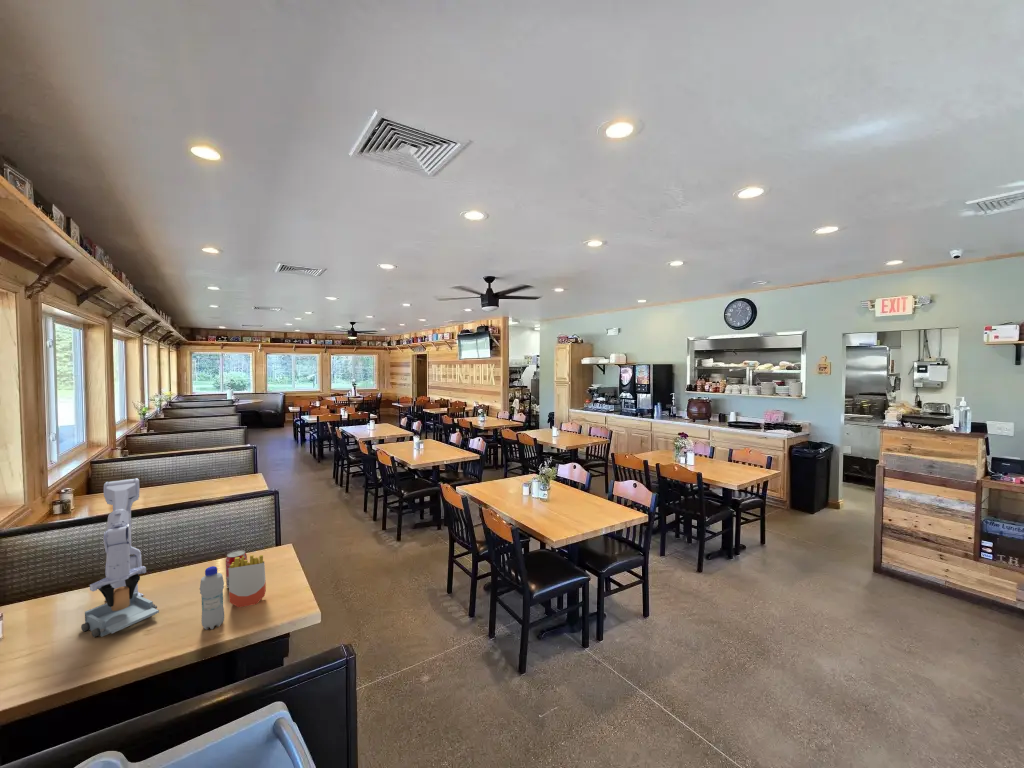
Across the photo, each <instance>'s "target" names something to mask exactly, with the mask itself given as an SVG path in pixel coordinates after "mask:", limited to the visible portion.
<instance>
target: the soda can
mask: <svg viewBox="0 0 1024 768" xmlns="http://www.w3.org/2000/svg"><path fill="white" fill-rule="evenodd" d="M235 557H240V559H242V557H244V560H247V561H248V557H247V553H246V551H245V550H243V549H239V550H238V549H237V550H234V551H231V552H228V553H227V554H226V558H225V579H226V581H225V582H226V588H228V589H229V567H230V565H231V564H232V562H234V564H235ZM239 562H240V560H239Z"/></svg>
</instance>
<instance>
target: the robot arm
mask: <svg viewBox="0 0 1024 768" xmlns="http://www.w3.org/2000/svg"><path fill="white" fill-rule="evenodd" d="M103 497H104V499H105V500H104V501H105V502H106V504H107V505H111V506H112V512H110V513H109V514H108V515H107V516H108V517H107V522H106V530H105V531H104V532H103V545H104V549H105V550H104V551H105V553H106V560H105V561H106V562H105V577H104V578H101V579H100V580H98V581H95V582H93V583H91V584H89V591H90V592H96V591H97V590H98V591H99V592H100V593H101V594H102V596H103V597H104V601H106V603H107V605H108V606H110V607H112V606H113V604H114V602H113V592H114V589H116V588H119V587H123V586H128V587H129V599H132V597H133V593H134V592H138V595H139V596H141V597H143V596H144V593H141V592H140V591H139V581H140V579H141V576H139V575H141V574H145V573H147V567H146V566H145V565H143V561H142V551H141V550H140V549H139V548H136V547H134V546H132V506H133V503H134V502H136V501H138V500H139V497H140V479H139V478H138V477H135V478H130V479H121V480H112V481H106V482H105V483H104V484H103Z"/></svg>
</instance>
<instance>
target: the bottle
mask: <svg viewBox="0 0 1024 768" xmlns="http://www.w3.org/2000/svg"><path fill="white" fill-rule="evenodd" d="M204 570H205V571H204V574H205V575H204V576H202V577H201V579H200V585H199V594H200V595H201V626H202V628H203V629H204V630H209V628H210V630H213V629H214V628H215V626H216V627H217V628H218V627H220V626H221V625H222V624H223V623H224V622H225V608H224V588H225V586H224V585H225V581H224V577H223V576H224V574H222V573H221V572H218V567H217V566H215V565H214V566H212V565H211V566H209V567H207V568H206V569H204Z"/></svg>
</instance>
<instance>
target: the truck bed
mask: <svg viewBox="0 0 1024 768" xmlns="http://www.w3.org/2000/svg"><path fill="white" fill-rule="evenodd" d="M138 592H139V591H138ZM138 592H134V593H133V597H132V599H130V605H129V606H128V607H127V608H125V609H122V610H118V611H112V610H111V607H110V606H108V605H107V602H106V603H103V604H100V605H98V606H95V607H93V608H90V609H88V610H85V611H84V623H82V624H81V627H80V629H81V631H82V632H83V633H84V632H86V631H90V632H91V636H92V637H93V638H97V637H99V636H100V637H104V636H107V635H110V634H111V633H110V632H108V631H106V627H108V626H111V625H113V624H115V623H118V622H120V621H122V620H125V619H127V618H129V617H132V616H134V615H136V614H139V613H141V612H143V611H146V610H148V609H150V608H155V609H158V605H156V604H154V602H153V600H150V599H148V598H146V597H143V596H139V595H138Z"/></svg>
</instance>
